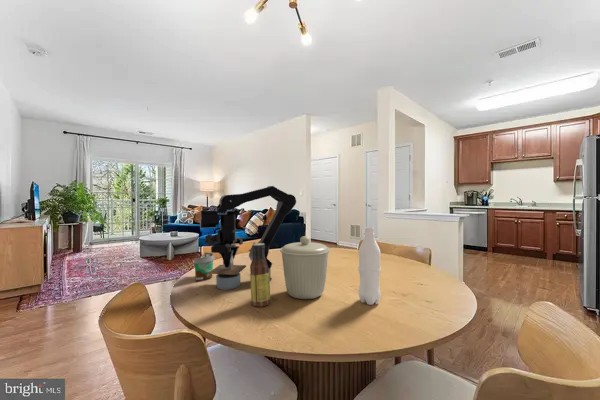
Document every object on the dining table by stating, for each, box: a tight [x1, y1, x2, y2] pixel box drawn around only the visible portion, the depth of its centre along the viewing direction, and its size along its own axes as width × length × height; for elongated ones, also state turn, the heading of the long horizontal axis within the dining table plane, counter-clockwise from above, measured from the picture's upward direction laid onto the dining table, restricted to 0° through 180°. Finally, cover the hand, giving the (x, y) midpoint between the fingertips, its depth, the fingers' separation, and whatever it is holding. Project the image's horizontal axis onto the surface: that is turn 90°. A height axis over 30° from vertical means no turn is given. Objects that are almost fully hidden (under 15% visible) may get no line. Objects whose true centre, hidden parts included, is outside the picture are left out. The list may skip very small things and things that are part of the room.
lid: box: [209, 255, 247, 275], centre depth 107 cm, size 11×11×6 cm
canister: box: [279, 235, 331, 300], centre depth 98 cm, size 18×18×21 cm
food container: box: [193, 252, 215, 283], centre depth 118 cm, size 12×6×10 cm, turn 179°
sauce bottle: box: [249, 242, 271, 308], centre depth 89 cm, size 6×6×20 cm
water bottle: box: [357, 226, 382, 306], centre depth 91 cm, size 7×7×25 cm
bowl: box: [215, 272, 241, 291], centre depth 107 cm, size 9×9×4 cm
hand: (228, 266), depth 107 cm, fingers closed on lid, 3 cm apart
